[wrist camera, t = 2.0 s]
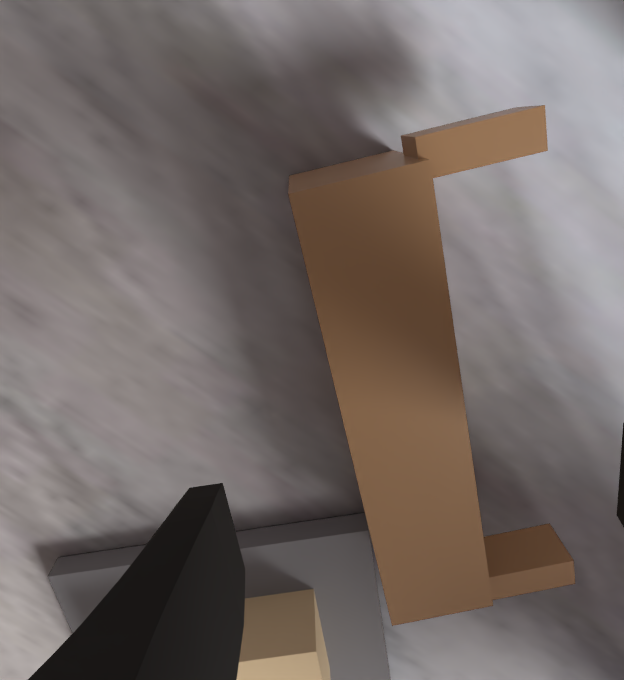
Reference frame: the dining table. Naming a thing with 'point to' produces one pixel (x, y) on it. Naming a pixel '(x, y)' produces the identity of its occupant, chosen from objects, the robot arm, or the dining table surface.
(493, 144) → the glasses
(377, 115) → the dining table surface
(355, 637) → the gray tray with blocks
